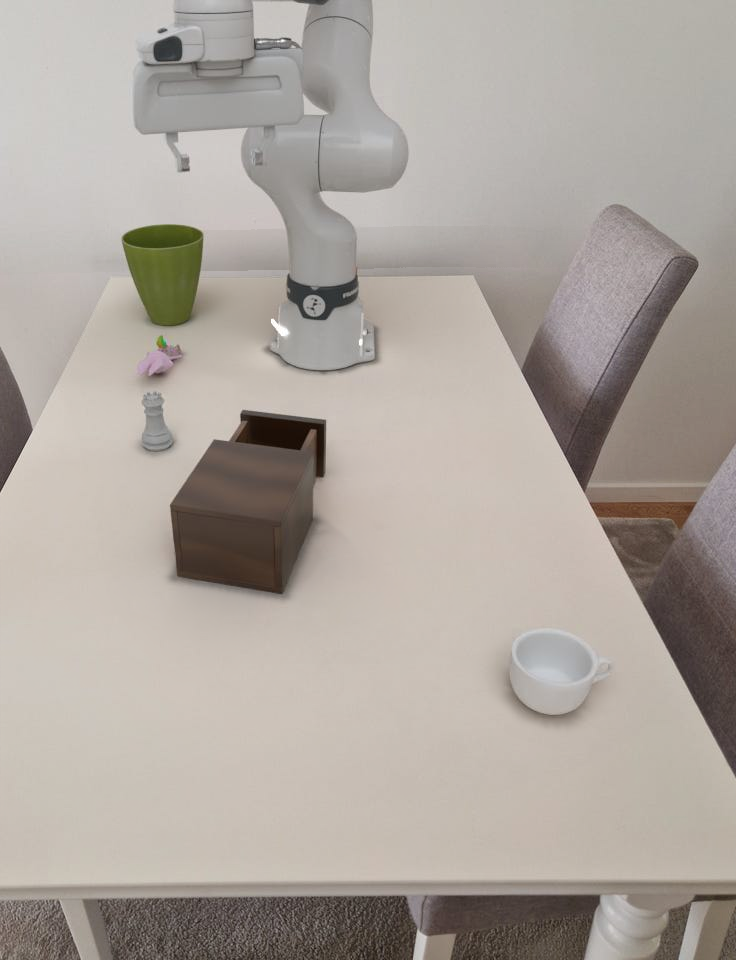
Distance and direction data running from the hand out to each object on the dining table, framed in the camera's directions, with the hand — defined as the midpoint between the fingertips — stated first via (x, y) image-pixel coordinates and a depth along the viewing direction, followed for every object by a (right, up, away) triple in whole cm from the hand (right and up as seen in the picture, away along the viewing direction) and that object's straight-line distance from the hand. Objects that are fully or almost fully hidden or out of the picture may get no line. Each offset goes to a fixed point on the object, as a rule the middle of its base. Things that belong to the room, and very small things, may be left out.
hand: (221, 168), depth 102 cm
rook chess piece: (-11, -33, +20) cm, 40 cm away
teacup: (+34, -59, -20) cm, 71 cm away
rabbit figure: (-14, -19, +41) cm, 47 cm away
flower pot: (-15, -7, +60) cm, 62 cm away
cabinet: (+3, -46, 0) cm, 46 cm away
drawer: (+7, -38, +9) cm, 40 cm away
